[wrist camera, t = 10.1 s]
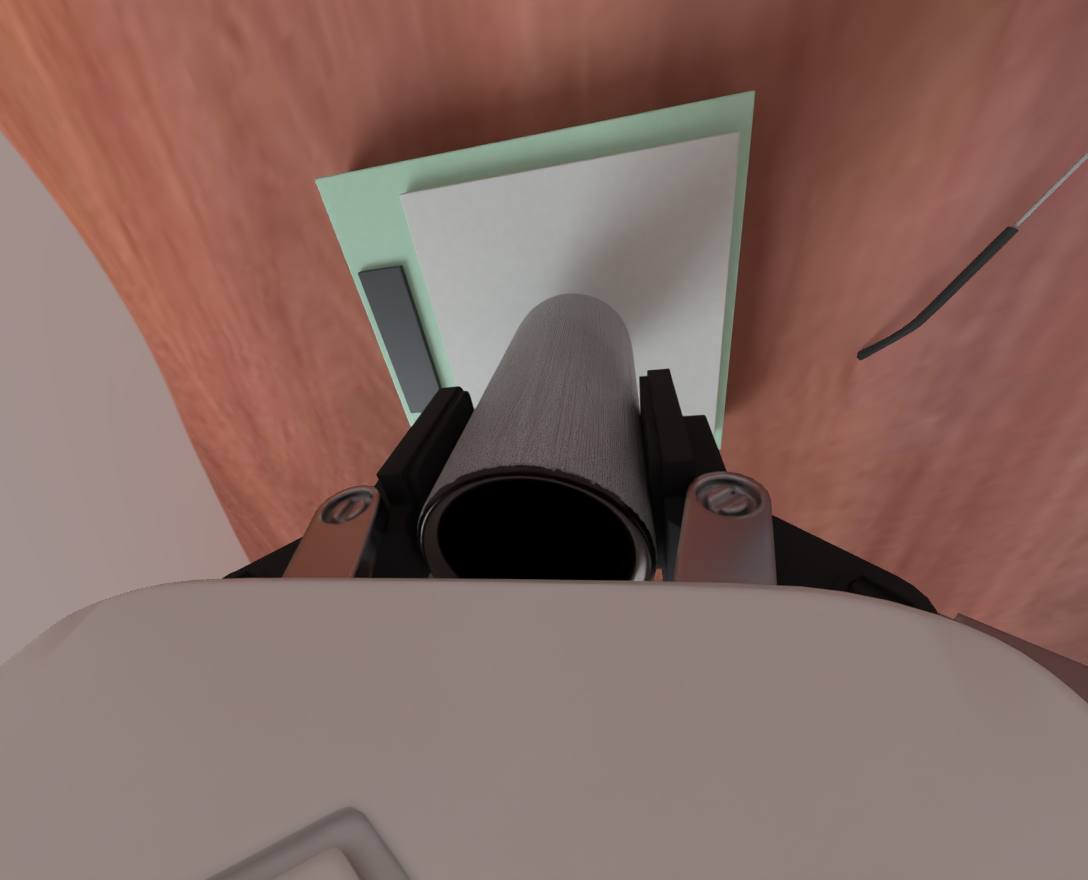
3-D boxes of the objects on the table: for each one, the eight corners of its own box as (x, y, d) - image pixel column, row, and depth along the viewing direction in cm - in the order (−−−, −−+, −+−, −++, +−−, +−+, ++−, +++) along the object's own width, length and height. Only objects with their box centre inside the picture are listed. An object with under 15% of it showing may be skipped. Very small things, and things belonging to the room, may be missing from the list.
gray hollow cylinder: (531, 409, 18) (462, 635, 9) (500, 306, 16) (372, 483, 7) (638, 393, 17) (668, 631, 8) (623, 279, 14) (642, 450, 6)
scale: (345, 176, 18) (304, 179, 16) (737, 97, 15) (761, 86, 13) (438, 440, 26) (420, 470, 23) (711, 424, 23) (723, 456, 20)
